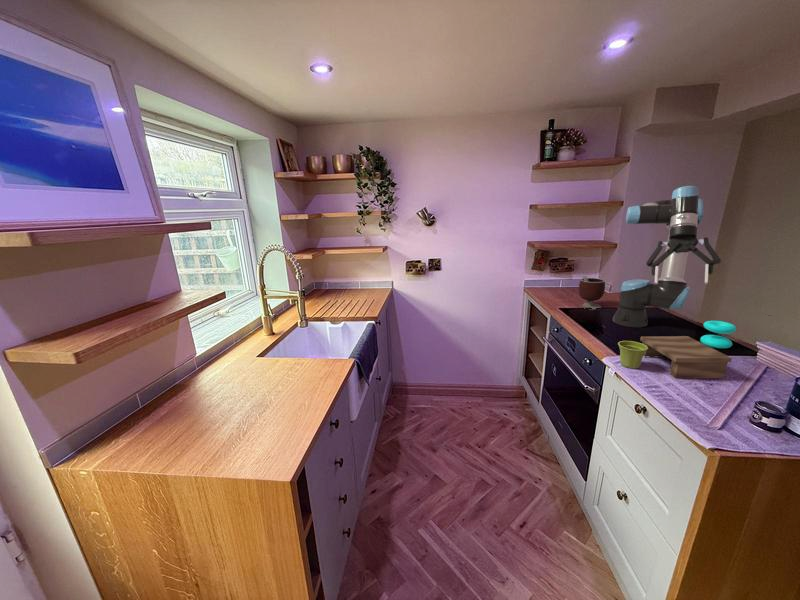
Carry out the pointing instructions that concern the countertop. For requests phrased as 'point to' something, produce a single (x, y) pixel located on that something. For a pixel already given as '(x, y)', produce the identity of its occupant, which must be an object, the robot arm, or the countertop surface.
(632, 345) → the plant pot
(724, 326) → the donuts
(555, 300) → the countertop surface
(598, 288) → the mate gourd
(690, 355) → the walnut shelf stand
